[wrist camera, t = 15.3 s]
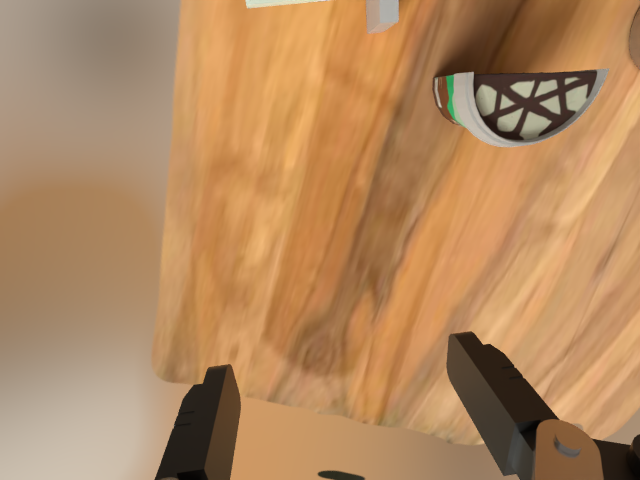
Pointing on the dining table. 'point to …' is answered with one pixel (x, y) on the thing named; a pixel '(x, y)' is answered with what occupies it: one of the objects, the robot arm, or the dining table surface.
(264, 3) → the sage tray
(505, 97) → the food container
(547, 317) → the dining table surface
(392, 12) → the low wall
